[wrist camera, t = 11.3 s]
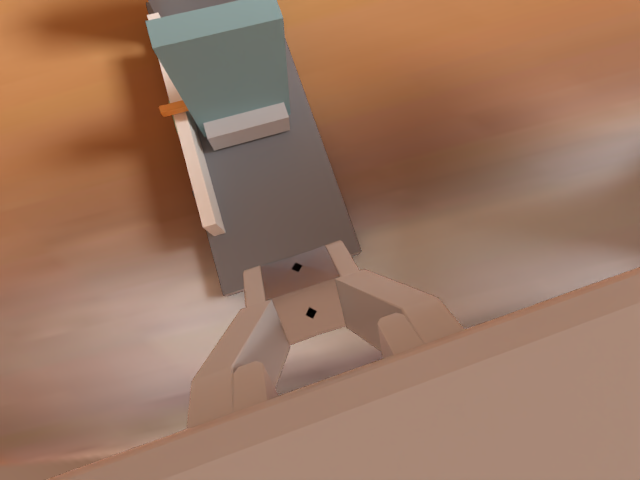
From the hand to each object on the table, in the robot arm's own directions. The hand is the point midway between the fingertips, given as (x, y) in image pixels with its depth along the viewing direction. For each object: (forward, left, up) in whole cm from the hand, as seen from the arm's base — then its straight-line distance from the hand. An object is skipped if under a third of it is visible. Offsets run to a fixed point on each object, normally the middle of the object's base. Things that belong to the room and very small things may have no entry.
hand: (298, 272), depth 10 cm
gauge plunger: (+1, -17, -17) cm, 24 cm away
